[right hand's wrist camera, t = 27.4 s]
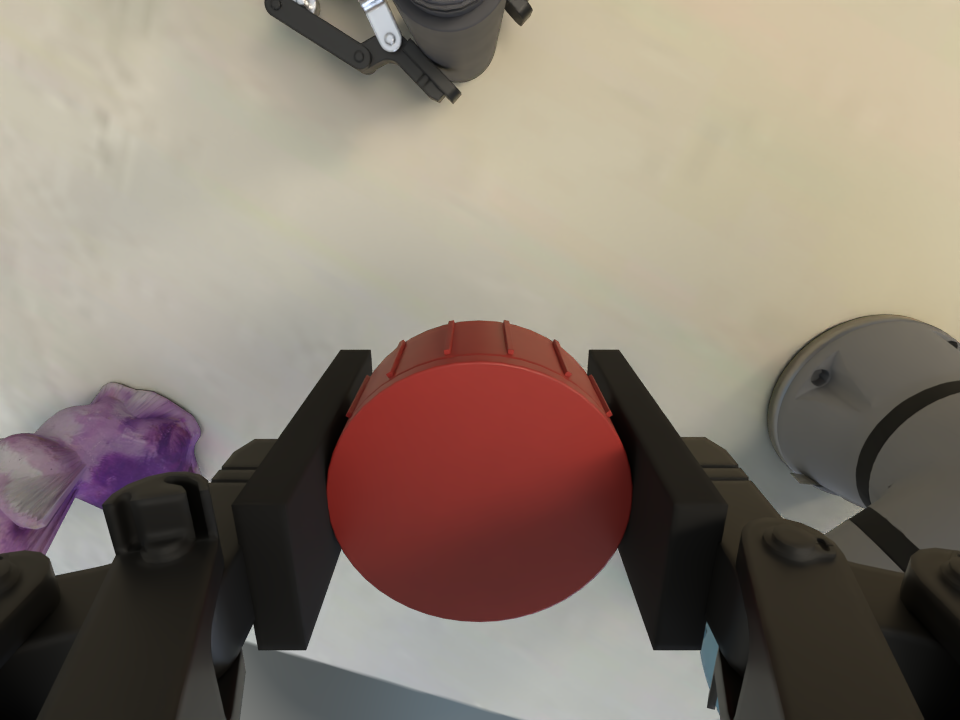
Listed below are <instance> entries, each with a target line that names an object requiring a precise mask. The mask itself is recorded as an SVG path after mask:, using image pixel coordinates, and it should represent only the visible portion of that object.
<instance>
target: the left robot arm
mask: <svg viewBox="0 0 960 720" xmlns="http://www.w3.org/2000/svg"><path fill="white" fill-rule="evenodd" d="M358 1H359V3H360V5H361V7H362V8H363V10H364V12H365V14H366V16H367V18H368V20H369V22H370V24H371V26H372V29H373V31H374V33H375V36H373V37H372V38H370V39H368V40H366V41H365V42H363V43H359V42H357V41H356V40H354V39H353V38H351V37H350V36H348V35H346V34H345V33H343V32H342V31H340V30H339V29H337V28H336V27H334V26H332V25H331V24H329V23H328V22H326V21H325V20H323V19H321V18H320V17H318V16H319V14H320V4H319V2H318V0H265V8H266V10H267V12H268V13H269V14H270V15H271V16H273V17H274V18H276V19H278V20H279V21H281V22H282V23H284V24H285V25H287V26H288V27H290V28H292V29H293V30H295V31H296V32H298V33H300V34H301V35H303V36H304V37H306V38H308V39H309V40H311V41H312V42H314V43H315V44H317V45H319V46H320V47H322V48H323V49H325V50H327V51H328V52H330V53H331V54H333V55H335V56H336V57H338V58H339V59H341V60H343V61H344V62H346V63H347V64H349V65H350V66H352V67H354V68H355V69H357V70H358V71H360V72H362V73H363V74H366V75H370V74H373V73H374V72H375V71H376V69H378V68H380V67H382V66H383V65H385V64H388V63H394V64H397V65H399V66H400V67H401V68H402V69H403V70H404V71H405V72H406V73H407V74H408V75H409V76H410V77H411V78H412V79H413V81H414V82H415V83H416V84H417V85H418V86H419V87H420V88H421V89H422V90H423V91H424V92H425V93H426V94H427V95H428V96H429V97H430V98H431V99H432V100H435V101H437V102H439V103H440V102H441V101H442V100H443V99H444V97H445V96H446V97H447V98H448V99H449V100H450V101H451V102H452V103H453V104H454V102H455V101H456V100H457V99H458V98H459V97H460V96H461V92H460V91H459V90H458V89H457V88H456V87H455V85H454V84H453V83H452V82H451V81H450V80H449V79H448V78H447V77H446V76H445V75H444V74H443V73H442V72H441V70H440V69H439V68H438V67H437V66H436V65H435V64H434V63H433V62H432V61H431V60H430V59H429V58H428V57H427V56H426V55H425V54H424V53H423V51H422V50H421V49H420V48H419V47H418V46H417V45H416V44H415V43H414V42H413V41H412V40H411V38H410V39H409V40H408V41H407V40H406V39H405V38H404V37H403V35H402V33H401V31H400V29H399V27H398V25H397V22H396V20H395V18H394V16H393V14H392V12H391V9H390V7H389V5H388V2H387V0H358ZM504 9H505V10H506V11H507V12H508V14H509V15H510V16H511V17H512V18H513V19H514V20H515V22H516V23H517V24H518V25H520V26H522V25H523V24H524V22H525V21H526V20H527V19H528V18H529V17H530V15H531V13H532V8H531V6H530V4H529V3H528V0H506V4H505V8H504Z"/></svg>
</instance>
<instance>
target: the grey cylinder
mask: <svg viewBox="0 0 960 720" xmlns="http://www.w3.org/2000/svg"><path fill="white" fill-rule="evenodd" d="M393 2H394V3H395V5H396V7H397V9H398V11H399V12H400V14H401V16H402V18H403V20H404V21H405V23H406V25H407V27H408V29H409V30H410V32H411V34H412V36H413V38H414V39H415V41H416V43H417V45H418V47H419V48H420V49H421V50H422V51H423V53H424V54H425V55H426V56H427V57H428V58H429V59H430V60H431V61H432V62H433V63H434V64H435V65H436V66H437V67H438V68H439V69H440V70H441V72H442V73H443V74H444V75H445V76H446V77H447V78H448V79H449V80H450V81H453V82H465V81H469V80H472V79H474V78H476V77H478V76H479V75H480V74H482V73H483V72H484V71H485V70H486V68H487V67H488V66H489V64H490V62H491V61H492V58H493V56H494V52H495V48H496V44H497V39H498V35H499V31H500V26H501V22H502V17H503V13H504V8H505V4H506V0H393Z"/></svg>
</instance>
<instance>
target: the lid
mask: <svg viewBox="0 0 960 720" xmlns="http://www.w3.org/2000/svg"><path fill="white" fill-rule="evenodd" d="M346 416H347V417H348V418H349V419H348V421H347V423H346V425H345V427H344V429H343V431H342V433H341V435H340V437H339V440H338V442H337V444H336V446H335V448H334V451H333V453H332V457H331V460H330V464H329V467H328V473H327V482H326V491H327V501H328V509H329V517H330V523H331V526H332V528H333V531H334V534H335V537H336V539H337V541H338V543H339V545H340V546H341V548H342V550H343V552H344V554H345V555H346V556H347V558H348V559H349V561H350V562H351V563H352V565H353V566H354V567H355V568H356V569H357V571H358V572H359V573H360V574H361V575H362V576H363V577H364V578H365V579H366V580H367V581H368V582H370V583H371V584H372V585H373V586H374V587H376V588H377V589H378V590H379V591H381V592H382V593H384V594H386V595H387V596H389V597H390V598H392V599H393V600H395V601H397V602H399V603H401V604H403V605H405V606H407V607H409V608H412V609H414V610H417V611H420V612H422V613H425V614H428V615H432V616H436V617H440V618H444V619H451V620H457V621H470V622H489V621H501V620H508V619H514V618H519V617H522V616H526V615H530V614H534V613H536V612H539V611H542V610H544V609H547V608H550V607H552V606H554V605H556V604H558V603H559V602H561V601H563V600H565V599H567V598H569V597H570V596H572V595H573V594H575V593H576V592H578V591H579V590H581V589H582V588H583V587H584V586H585V585H587V584H588V583H589V582H590V581H591V580H592V579H594V578H595V577H596V575H597V574H598V573H599V572H600V571H601V570H602V569H603V568H604V567H605V566H606V564H607V563H608V562H609V560H610V559H611V557H612V556H613V554H614V553H615V552H616V550H617V548H618V546H619V544H620V542H621V540H622V538H623V536H624V533H625V530H626V527H627V524H628V522H629V517H630V512H631V505H632V492H633V484H632V476H631V468H630V465H629V461H628V458H627V454H626V451H625V449H624V447H623V445H622V442H621V440H620V438H619V436H618V434H617V432H616V430H615V428H614V426H613V424H612V422H611V420H610V418H609V417H610V416H612V413H611V411H610V409H609V407H608V405H607V403H606V401H605V399H604V397H603V395H602V393H601V391H600V389H599V387H598V385H597V383H596V381H595V379H594V377H593V376H592V375H589V376H588V375H587V374H586V372H585V371H584V369H583V368H582V367H581V366H580V365H579V364H578V363H577V361H576V360H575V359H574V358H573V357H572V356H571V355H569V354H568V353H567V352H566V351H565V350H564V349H563V348H561V346H560V344H559V342H558V341H557V340H555V339H554V341H553V342H552V341H551V340H549V339H548V338H546V337H544V336H542V335H540V334H538V333H536V332H533V331H531V330H528V329H525V328H522V327H519V326H516V325H512V324H509V321H506V320H504V322H503V323H502V322H495V321H464V322H457V323H454V320H453V321H449V323H448V324H447V325H442V326H439V327H436V328H433V329H430V330H427V331H425V332H423V333H421V334H419V335H417V336H415V337H413V338H411V339H409V340H408V341H406V342H405V341H404V340H402V341H401V342H399V345H398V347H397V348H396V349H395V350H394V351H393V352H392V353H390V354H389V355H388V356H387V357H386V358H385V359H384V360H383V361H382V362H381V363H380V365H379V366H378V367H377V368H376V369H375V370H374V372H373V373H372V375H371V377H370V376H368V375H366V377H365V379H364V381H363V383H362V385H361V387H360V388H359V390H358V392H357V394H356V396H355V398H354V400H353V402H352V404H351V406H350V408H349V410H348V412H347V414H346Z"/></svg>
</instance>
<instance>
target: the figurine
mask: <svg viewBox="0 0 960 720" xmlns="http://www.w3.org/2000/svg"><path fill="white" fill-rule="evenodd" d="M200 433H201V431H200V427H199V425H198V423H197V422H196V420H195V418H194V417H193V416H192V415H191V414H190V413H188V412H186V411H185V410H184V409H182V408H181V407H179V406H178V405H176V404H175V403H173V402H171V401H170V400H168V399H167V398H165V397H163V396H161V395H159V394H157V393H155V392H152V391H144V390H135V389H132V388H128V387H127V386H123V385H122V384H118V383H112V382H111V383H107V384H106V385H104V386H103V387H102V388H101V390H100V392H99V393H98V395H96V397H95V399H93V401H92V402H91V404H89V405H83V406H73V407H69V408H66V409H63V410H61V411H59V412H57V413H56V414H55V415H53V416H52V417H51V418H49V419H48V420H47V421H46V422H45V423H44V424H43V425H42V426H41V427H40V428H39V429H38V430H37V431H36V432H35V433H34V434H30V433H21V434H15V435H11V436H8V437H6V438H0V554H1V553H8V552H15V551H22V550H28V551H36V552H41V553H43V554H44V555H45V554H46V553H47V551H48V549H49V547H50V545H51V543H52V541H53V539H54V537H55V535H56V533H57V531H58V529H59V527H60V525H61V524H62V522H63V520H64V518H65V516H66V514H67V512H68V510H69V508H70V506H71V504H72V502H73V500H74V498H78V499H80V500H83V501H85V502H87V503H89V504H92V505H94V506H96V507H98V508H100V509H103V508H102V504H103V503H104V502H105V501H106V500H107V499H108V498H109V497H110V496H111V495H112V494H113V493H115V492H116V491H118V490H119V489H121V488H123V487H124V486H126V485H128V484H130V483H132V482H135V481H137V480H140V479H143V478H145V477H148V476H152V475H157V474H161V473H166V472H182V471H187V472H191V473H196V474H200V475H201V472H200V469H199V466H198V464H197V461H196V458H195V455H194V447H195V443H196V442H197V440H198V439H199V437H200Z"/></svg>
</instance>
